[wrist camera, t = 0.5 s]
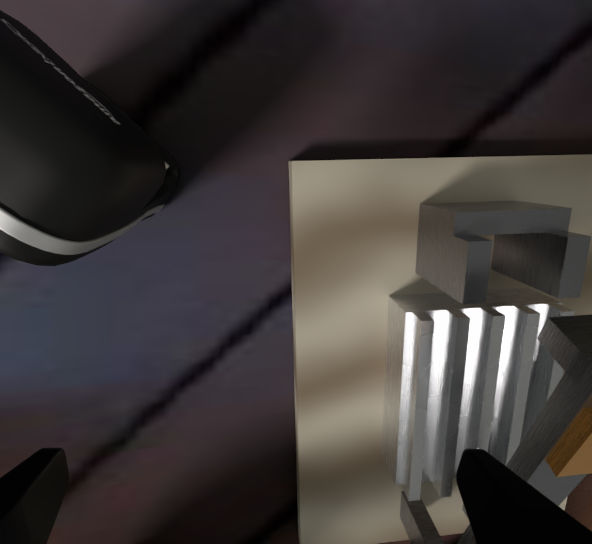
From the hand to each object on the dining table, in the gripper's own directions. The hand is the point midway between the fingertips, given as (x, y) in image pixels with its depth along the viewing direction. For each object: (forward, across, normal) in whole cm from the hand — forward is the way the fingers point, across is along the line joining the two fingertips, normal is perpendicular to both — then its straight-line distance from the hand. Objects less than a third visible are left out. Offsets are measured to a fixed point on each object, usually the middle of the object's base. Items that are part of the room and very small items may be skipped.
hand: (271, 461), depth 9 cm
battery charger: (+14, +7, -6) cm, 17 cm away
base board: (+13, -11, +6) cm, 18 cm away
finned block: (+11, -11, +6) cm, 17 cm away
